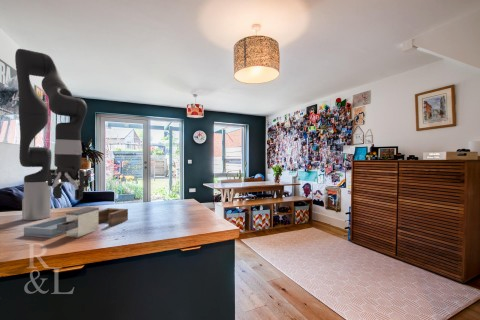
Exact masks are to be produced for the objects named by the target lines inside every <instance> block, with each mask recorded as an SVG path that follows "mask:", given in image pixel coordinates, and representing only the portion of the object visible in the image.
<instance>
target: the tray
mask: <svg viewBox="0 0 480 320" xmlns="http://www.w3.org/2000/svg"><path fill="white" fill-rule="evenodd" d="M65 222H66V215H64V216H59V217H57V218H53V219H49V220H46V221H42V222H38V223H36V224H31V225H28V226H24V227H23V236H25V237H36V238H37V237H38V238H50V239H53V238H55V237H58V236H61V235H65V234H66V231H57V225H58V224H61V223H65Z"/></svg>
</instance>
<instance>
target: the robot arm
mask: <svg viewBox="0 0 480 320" xmlns="http://www.w3.org/2000/svg"><path fill="white" fill-rule="evenodd" d="M14 57H15V58H14V62H15V71H16V79H17V87H18V90H17V91H18V123H19V133H20V134H19V135H20V137H19V156H18V157H19V164H20V166H22V167H24V168H41V169H40V170H38V171H36V172H34V173H30V174H26V175H24V176H23V198H22V199H21V206H22V207H21V208H22V210H21V218H22V220H24V221H38V220H44V219H47V218H50V217H51V202H52V201H51V196H52V195H53V199H54V200H55V199H56V200H57V199H61V198H62V197H63V196H62V193H63V191H62V186H63V185H64V184H65V183H70V184H71V185H72V186H73V187H74V201H81V200H82V199H83V197H84V189H85V188H88V187H89V185H90V183H89V182H90V181H89V171H88V169H83V170H81V169H80V167H81V166H82V164H83V163H82V156H83V155H82V150H83V147H82V134H81V132H82V128H83V123H84V121H85V118H86V115H87V112H88V105H87V103H86V101H85V100H84V99H83V98H80V97H75V96H73V93H72V92H71V90H70V88H69V87H68V86H67V85H66V83H65V82H64V81H63V79H62V76H61V74H60V72H59V70H58V68H57V65H56V63H55V62H54V59H53V58H52V57H51V56H50V55H49V54H46V53H44V52H38V51H33V50H29V49H23V48H18V49H16V51H15V56H14ZM30 76H34V77H42V80H41V88H42V90H43V92H44V93H45V95H46V96H47V98H48V106H47V104H46V103H45V102H44V100H43V99H42V98H41V96H40V95H39V94H38V92H37V91H36V90H35V88H34V86H33V85H32V82H31V79H30ZM49 110H50V112H51V113H53V114H55V115H58V116H64V117H71V120H70V121H69V122H67V121H66V122H59V123H56V125H55V140H54V141H55V142H54V161H53V162H54V167H56V168H51V167H52V150H51V149H50V148H49V147H42V146H41V147H39V146H38V147H37V146H30V145H31V143H32V141H33V140H34V139H35V138H36V136H37V135H38V134H40V133H41V131H42V130H43V129H45V127H46V126H47V124H48V121H49ZM51 189H53V193H52V194H51Z"/></svg>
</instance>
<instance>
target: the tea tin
mask: <svg viewBox="0 0 480 320" xmlns="http://www.w3.org/2000/svg"><path fill="white" fill-rule="evenodd" d="M99 209H100V208H99V207H94V206H93V207H91V206H89V207H88V206H86V207H83V208H80V209H76V210H72V211H68V212H65V216H66V222H65V223H61V224H58V225H57V231H66V233H65V236H66V237H68V238H80V237H83V236H85V235H88V234H90V233H94V232H95V231H98V230H99V224H98V211H100V210H99Z"/></svg>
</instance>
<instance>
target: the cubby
mask: <svg viewBox="0 0 480 320" xmlns="http://www.w3.org/2000/svg"><path fill="white" fill-rule="evenodd" d="M128 216H129V208H119V207H117V208H116V207H108V208H105V209H100V210H98V225H100V224H103V223H105V222H108V225H107V226H108V227H114V226H116V225H118V224H120V223H123V222H125V221H128V218H129V217H128Z"/></svg>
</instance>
